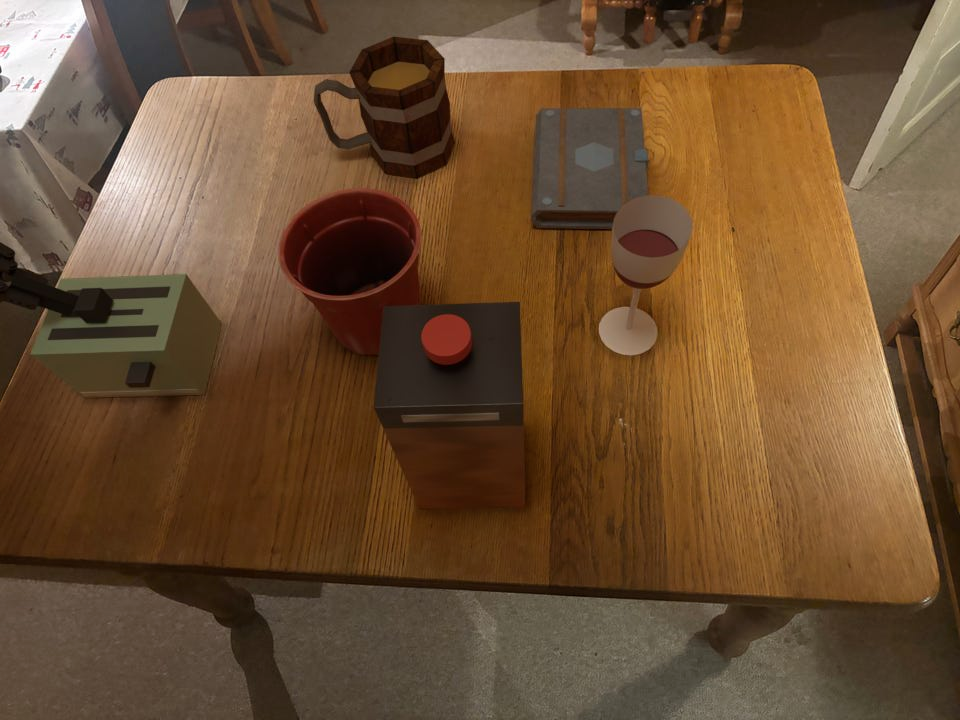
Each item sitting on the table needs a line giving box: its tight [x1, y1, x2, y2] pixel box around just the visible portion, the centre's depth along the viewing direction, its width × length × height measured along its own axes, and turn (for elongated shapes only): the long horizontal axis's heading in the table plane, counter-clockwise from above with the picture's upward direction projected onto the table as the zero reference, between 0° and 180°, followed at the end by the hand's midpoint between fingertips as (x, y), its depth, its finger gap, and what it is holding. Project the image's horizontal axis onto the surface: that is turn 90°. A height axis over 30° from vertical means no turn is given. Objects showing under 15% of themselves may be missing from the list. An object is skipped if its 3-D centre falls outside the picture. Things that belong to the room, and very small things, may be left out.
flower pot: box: [277, 187, 423, 356], centre depth 82 cm, size 16×16×16 cm
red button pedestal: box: [373, 301, 526, 510], centre depth 66 cm, size 12×10×26 cm
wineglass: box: [598, 194, 694, 356], centre depth 77 cm, size 8×9×20 cm
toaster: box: [29, 273, 223, 399], centre depth 82 cm, size 16×14×11 cm
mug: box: [313, 36, 456, 180], centre depth 99 cm, size 20×14×15 cm
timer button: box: [421, 314, 472, 365], centre depth 53 cm, size 4×4×1 cm
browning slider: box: [73, 288, 113, 323], centre depth 77 cm, size 2×3×3 cm
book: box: [530, 107, 650, 230], centre depth 98 cm, size 21×16×5 cm
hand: (74, 306), depth 77 cm, fingers closed
